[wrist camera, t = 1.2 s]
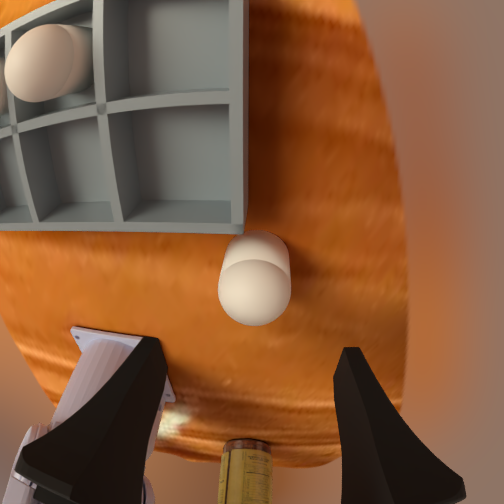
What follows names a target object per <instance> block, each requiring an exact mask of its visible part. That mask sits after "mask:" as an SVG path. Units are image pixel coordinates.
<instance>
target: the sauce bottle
mask: <svg viewBox="0 0 504 504" xmlns="http://www.w3.org/2000/svg"><path fill="white" fill-rule="evenodd" d="M218 504H272V456H271V449H270V447H269V446H268V444H266V443H264V442H261V441H257V440H253V439H242V440H231V441H229V442H227V443H226V444H225V445H224V448H223V455H222V457H221V470H220V481H219V493H218Z"/></svg>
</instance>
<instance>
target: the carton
mask: <svg viewBox="0 0 504 504" xmlns="http://www.w3.org/2000/svg"><path fill="white" fill-rule="evenodd" d="M46 24H60V25H73V26H84V27H90V28H93V68H94V83H93V84H92V85H91V86H90V87H88V88H87V89H85V90H83V91H80V92H77V93H72V94H68V95H64V96H61V97H57V98H53V99H49V100H46V101H42V102H27V101H23V100H21V99H19V98H17V97H16V96H15V95H14V94H13V93H12V92H11V91H10V90H9V88H8V86H7V84H6V86H7V98H8V107H9V113H7V114H4V115H1V116H0V231H126V232H175V233H213V234H244V228H245V222H246V216H247V210H248V102H249V0H56V1H54V2H51V3H49V4H47V5H45V6H43V7H40V8H38V9H36V10H34V11H32V12H30V13H28V14H26V15H24V16H22V17H21V18H19V19H17V20H15V21H13V22H11V23H10V24H8V25H6V26H4V27H3V28H1V29H0V57H5V63H6V59H7V56H8V54H9V52H10V50H11V48H12V47H13V45H14V44H15V43H16V41H17V40H18V39H19V38H20V37H21V36H22V35H24V34H25V33H26V32H28V31H29V30H31V29H33V28H35V27H38V26H41V25H46Z"/></svg>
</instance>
